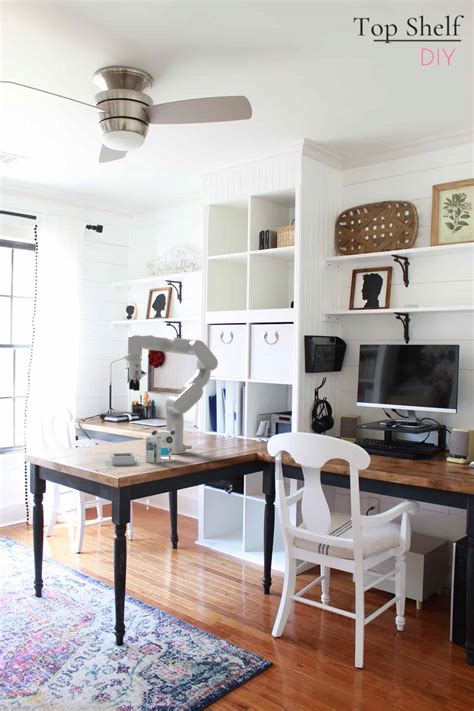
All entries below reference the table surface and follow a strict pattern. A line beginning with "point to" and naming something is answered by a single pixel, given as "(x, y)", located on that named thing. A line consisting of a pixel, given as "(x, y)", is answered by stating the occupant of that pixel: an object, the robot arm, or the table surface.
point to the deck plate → (108, 463)
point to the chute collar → (122, 458)
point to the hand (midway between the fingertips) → (134, 390)
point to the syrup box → (153, 449)
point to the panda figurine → (166, 443)
